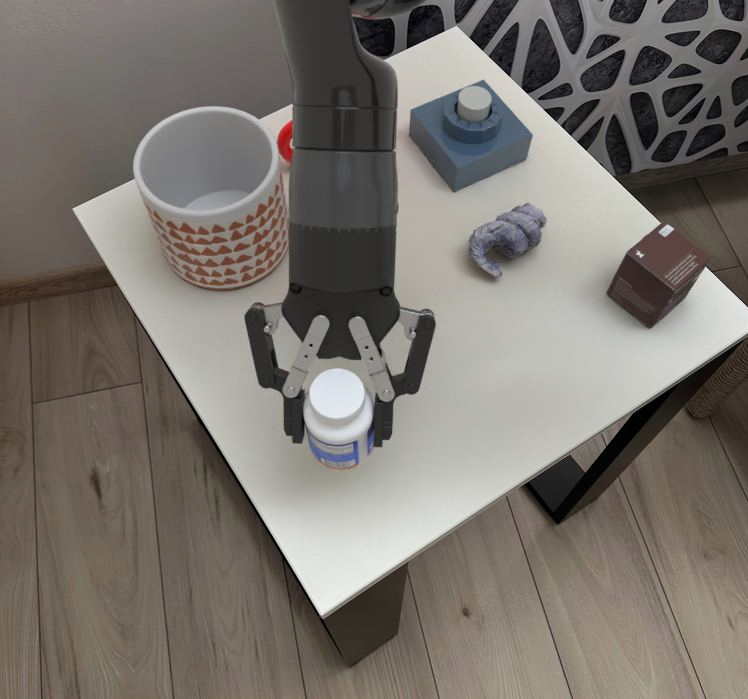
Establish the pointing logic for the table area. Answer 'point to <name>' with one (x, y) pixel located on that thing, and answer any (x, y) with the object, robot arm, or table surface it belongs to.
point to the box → (657, 274)
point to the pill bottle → (339, 419)
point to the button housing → (468, 139)
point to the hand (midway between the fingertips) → (338, 440)
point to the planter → (215, 195)
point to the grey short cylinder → (474, 104)
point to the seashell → (507, 236)
